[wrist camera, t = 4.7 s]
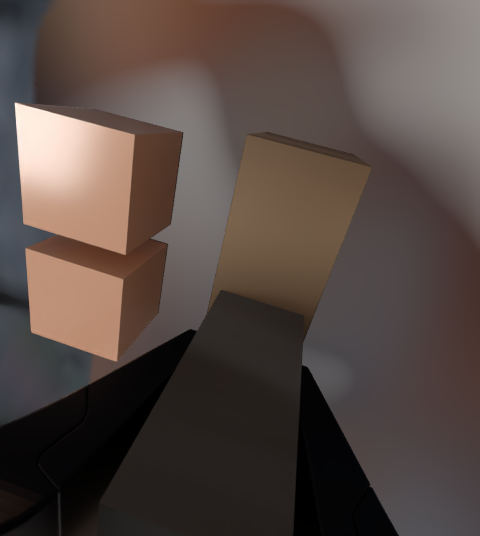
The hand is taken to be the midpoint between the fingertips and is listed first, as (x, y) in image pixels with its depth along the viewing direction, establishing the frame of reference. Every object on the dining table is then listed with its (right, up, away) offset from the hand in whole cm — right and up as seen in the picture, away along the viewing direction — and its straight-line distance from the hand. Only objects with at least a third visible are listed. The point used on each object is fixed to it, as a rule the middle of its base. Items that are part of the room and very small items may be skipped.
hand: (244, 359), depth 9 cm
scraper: (+1, +2, +5) cm, 5 cm away
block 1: (-5, +7, +5) cm, 10 cm away
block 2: (-6, +3, +8) cm, 10 cm away
